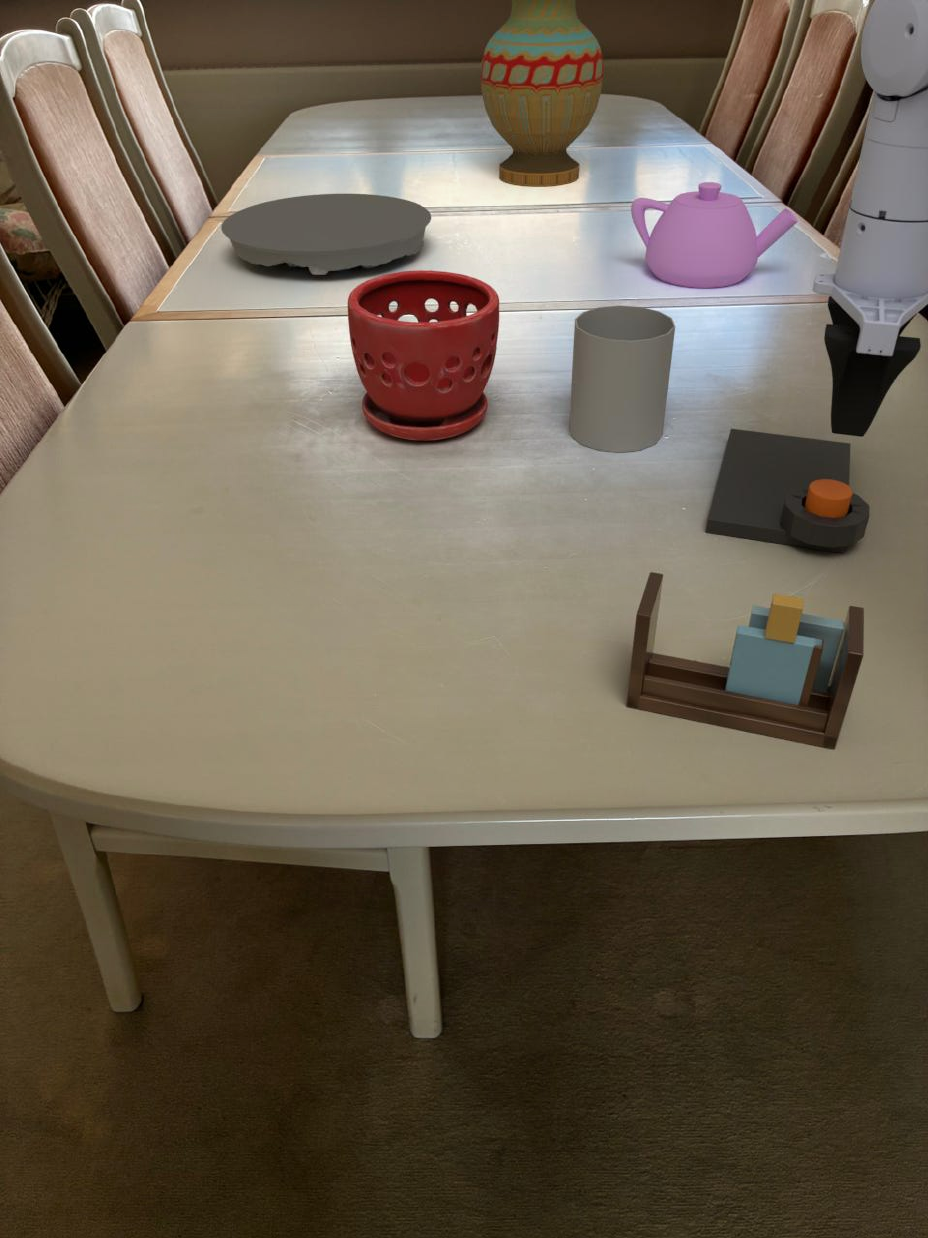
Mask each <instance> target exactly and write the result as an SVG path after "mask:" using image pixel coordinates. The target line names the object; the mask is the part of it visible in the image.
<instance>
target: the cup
mask: <svg viewBox="0 0 928 1238" xmlns="http://www.w3.org/2000/svg"><path fill="white" fill-rule="evenodd" d="M573 332H574V333H573V348H572V365H571V385H570V386H571V387H570V403H569V404H570V405H569V421H568V422H569V423H568V429H569V435H570V437H571V438H572V439H574V440H575V441H576V442H577V443H578V444H579V445H581V446H583V447H588V448H590V449H593V450H596V451H601V452H610V453H621V454H622V453H631V452H638V451H643V450H645V449H647V448H650V447H652V446H655V445H656V444H657V443H659V441H660V440H661V438H662V437H663V433H664V427H665V426H664V425H665V417H666V410H667V409H666V408H667V400H668V399H667V398H668V391H669V382H670V376H671V375H670V374H671V366H672V357H673V349H674V340H675V332H676V324H675V322H674V320H673V318H672V317H671V316H669V315H667V314H666V313H664V312H661V311H659V310H655V309H651V308H647V307H643V306H635V305H620V304H619V305H609V306H599V307H595V308H592V309H589V310H586V311H583V312H581V313H579V315H578V316H577V317H575V319H574V329H573Z"/></svg>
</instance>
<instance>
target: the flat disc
mask: <svg viewBox="0 0 928 1238" xmlns="http://www.w3.org/2000/svg"><path fill="white" fill-rule="evenodd" d="M431 221H432V213H431V212H430V211H429V210H428V209H427V208H426V207H424V206H423V205H421V204H419V203H416V202H414V201H410V200H407V199H403V198H398V197H394V196H389V195H388V196H387V195H380V194H370V193H369V194H367V193H321V194H309V195H300V196H299V195H298V196H292V197H284V198H281V199H274V200H269V201H265V202H261V203H258V204H253V205H251V206H248V207H245V208H243V209H240V210H238V211H236V212H233V213H232V214H230V215H229V216H228V217H226V218H225V219H224V220H223V221H222V223H221V226H220V229H221V232H222V233H223V235H225V237H227V238H228V239H229V241H230V243H231V247H232V248H233V251H234V252H235V253H236V255H237V256H238V257H239V258H240V259H242V261H245V262H248V263H249V264H251V265H256V266H258V265H262V266H264V267H272V266H277V265H281V264H284V263H285V264H287V266H289V267H291V268H297V267H301V268H308V270H309V272H310V274H311V275H313V276H314V275H316V276H318V275H320V276H321V275H322V276H324V275H325V276H326V275H328V273H329V272H330V271H331V272H335V271H339V272H341V271H345V270H350V269H352V268H357V267H362V268H364V269H367V270H371V269H373V268H375V267H378V266H379V265H386V264H388V263H390V262H392V261H393V260H394V261H395V260H396V259H400V258H403V257H405V256H406V257H409V256H411V255H413V256H414V255H416V254H417V253H418V252H420V251H421V250H422V248H423V246H424V237H425V233H426V229H427V226H428V225H430V223H431Z"/></svg>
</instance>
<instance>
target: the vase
mask: <svg viewBox="0 0 928 1238" xmlns="http://www.w3.org/2000/svg"><path fill="white" fill-rule="evenodd" d="M480 64H481V65H480V86H481V87H480V88H481V96H482V100H483V104H484V109H485V111H486V114H487V116H488V119H489V122H490V123H491V125H492V127H493V128H494V129H495V131H496V132H497V133H498V134H499V136H500V137H501V138H502V139H503V140H504V141H505V142H506V143H507V144H508V145H509V146H510V148H512V153H511V154H510V155H509V156H507V158H505V159H504V160H502V161H501V162H500V163H499V164H498V179H500V180H501V181H502V182H504V183H507V184H511V185H518V186H526V187H550V186H551V187H552V186H560V185H565V184H569V183H573V182H575V181H577V180H578V179H579V178H580V163H579V162H578V161H576V160H575V159H574V158H573V157H571V155H569V153H568V152H567V150H568V147H570V146H571V145H572V144H573V143H574V142H575V141H576V140H577V139H578V138H579V137H580V136H581V134H583V132H584V131H585V130H586V129H587V128H588V127H589V125H590V123H591V121H592V119H593V117H594V115H595V113H596V111H597V108H598V106H599V101H600V98H601V95H602V89H603V81H604V80H603V79H604V58H603V53H602V48H601V46H600V43H599V41H598V39H597V37H595V35H594V34H593V33H592V31H591V30H589V29H588V27H587V26H586V25H584V23H582V22H581V20H580V19H579V18H578V13H577V9H576V0H511V11H510V15H509V18H508V19H507V20H506V22H505V23H504V24H503V25H502V26H501V27H500V28H499V29H498V30H496V32H495V33H494V34H493V35H492V37H490V39H489V41H488V42H487V44H486V46H485V48H484V51H483V55H482V58H481V63H480Z"/></svg>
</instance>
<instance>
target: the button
mask: <svg viewBox="0 0 928 1238" xmlns="http://www.w3.org/2000/svg"><path fill="white" fill-rule="evenodd" d="M852 493H854V492H853V489H852V488H851V486H850V485H849V486H848V485H847V484H845V483H843V482H840V481H836V480H831V479H820V480H816V481H814V482H812V483H811V484H810V486H809V490H808V494H807V498H806V503H805V509H806V510H807V511H809V512H811V513H813V514H816V515H818V516H823V517H830V518H838V517H845V516H846V515H847V513H848V509H849V505H850V501H851V497H852Z"/></svg>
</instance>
